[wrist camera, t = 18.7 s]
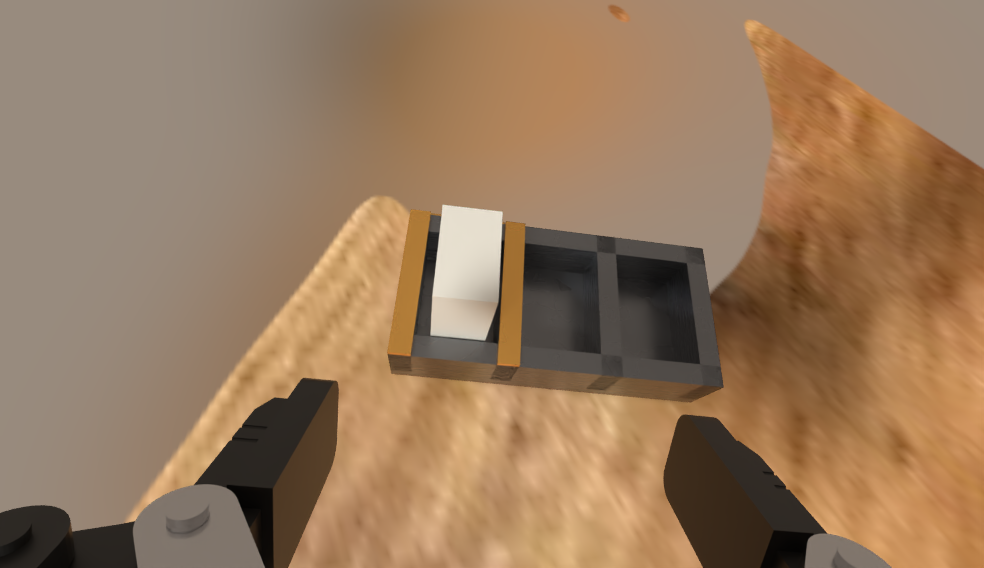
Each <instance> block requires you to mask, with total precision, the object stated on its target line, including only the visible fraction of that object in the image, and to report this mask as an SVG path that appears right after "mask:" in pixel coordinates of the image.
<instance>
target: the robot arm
mask: <svg viewBox="0 0 984 568" xmlns="http://www.w3.org/2000/svg"><path fill="white" fill-rule="evenodd" d="M338 394H339V388H338V382H337V381H332V380H321V379H311V378H303V379H301V381H300V382H299V383H298V385H297V386H296V388H295V389H294V390H293V392H292V393H291V395H290V396H289V397H288V399H284V398H273V399H271V400H270V401H268V402H266V403H265V404H263V405H261V406H260V407H258V408H256V409H255V410H254V411H253V412H252V413H251V415H250V416H249V417H248V418H247V420H246V421H245V422H244V423H243V425H242V428H239V430H238V431H237V432H236V433H235V435H234V436H233V437H232V441H229V442H228V443H227V445H226V446H225V447H224V448H223V450H222V451H221V452H220V453H219V455H218V456H217V457H216V458H215V460H214V461H213V462H212V463H211V465H210V466H209V467H208V468H207V469H206V471H205V472H204V473H203V474H202V476H201V477H200V478H199V479H198V481H197V482H196V483H195V484H194V485H193V486H188V487H184V488H180V489H177V490H174V491H172V492H170V493H167V494H165V495H163V496H161V497H160V498H158V499H156V500H155V501H153V502H152V503H151V504H149V505H148V506H147V507H146V508H145V509H144V510H143V511H142V512H141V513H140V515H139V516H138V517H137V519H136V521H134V522H129V523H124V524H119V525H112V526H106V527H99V528H93V529H87V530H80V531H75V532H72V528H71V522H70V518H69V515H68V514H67V513H66V512H65V511H64V510H62V509H60V508H57V507H53V506H45V505H43V506H42V505H41V506H28V507H21V508H16V509H12V510H9V511H5V512H2V513H0V568H288V567H289V564H290V562H291V560H292V557H293V555H294V553H295V550H296V548H297V546H298V544H299V541H300V539H301V537H302V534H303V532H304V530H305V527H306V525H307V523H308V520H309V518H310V516H311V514H312V511H313V509H314V507H315V504H316V502H317V500H318V497H319V495H320V493H321V491H322V488H323V486H324V484H325V481H326V479H327V477H328V474H329V472H330V470H331V467H332V464H333V460H334V456H335V451H336V444H337V422H338ZM664 489H665V493H666V496H667V499H668V501H669V503H670V505H671V507H672V509H673V510H674V512H675V514H676V516H677V518H678V520H679V522H680V524H681V526H682V528H683V530H684V532H685V534H686V535H687V537H688V539H689V541H690V543H691V545H692V547H693V549H694V551H695V553H696V555H697V557H698V559H699V561H700V562H701V564H702V566H703V568H892V567H891V566H889V565H888V564H887V563H886V562H885V561H884V560H883V559H881V558H880V557H879V556H877V555H876V554H875V553H873V552H872V551H870V550H868V549H867V548H865V547H863V546H862V545H860V544H858V543H856V542H854V541H851V540H849V539H846V538H843V537H840V536H837V535H832V534H827V533H826V531H825V530H824V529H823V528H822V527H821V526H820V525H819V523H818V522H817V521H816V520H815V519H814V518H813V517H812V515H811V514H810V513H809V512H808V511H807V510H806V508H805V507H804V506H803V505H802V504H801V503H800V502H799V500H798V499H797V498H796V497H795V496H794V495H793V494H792V492H791V491H790V490H787V489H786V486H785V484H784V483H783V482H782V481H781V480H780V479H779V478H778V476H775V475H774V472H773V471H772V470H771V468H770V467H769V466H768V465H767V464H766V463H765V462H764V460H763V459H762V458H761V457H760V456H759V455H758V454H756V453H755V452H753V451H752V450H751V449H749V448H748V447H746V446H745V445H744V444H742V443H741V442H739V441H736V440H735V439H734V437H733V436H732V435H731V434H730V433H729V431H728V430H727V429H726V428H725V427H724V425H723V424H722V423H721V422H720V421H719V420H718V419H717V418H714V417H704V416H693V415H682V416H681V417H680V418H679V419H678V422H677V425H676V428H675V432H674V436H673V439H672V443H671V447H670V451H669V454H668V458H667V462H666V465H665V470H664Z"/></svg>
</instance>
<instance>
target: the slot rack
mask: <svg viewBox="0 0 984 568" xmlns="http://www.w3.org/2000/svg"><path fill="white" fill-rule="evenodd" d="M441 216H442V215H441V214H432V213H431V212H428V211H420V210H411V212H410V218H409V224H408V230H407V236H406V242H405V248H404V254H403V260H402V266H401V272H400V278H399V284H398V291H397V297H396V303H395V309H394V315H393V321H392V327H391V333H390V339H389V345H388V351H387V353H388V358H389V363H390V368H391V373H392V374H400V375H410V376H421V377H431V378H442V379H452V380H462V381H473V382H483V383H494V384H504V385H515V386H525V387H535V388H546V389H556V390H567V391H577V392H588V393H598V394H608V395H619V396H629V397H640V398H650V399H661V400H671V401H681V402H692V401H694V400H697V399H699V398H701V397H703V396H705V395H708V394H710V393H712V392H714V391H717V390H719V389H721V388H723V387H724V386H723V380H722V373H721V367H720V360H719V353H718V347H717V340H716V334H715V327H714V320H713V314H712V307H711V301H710V294H709V288H708V281H707V275H706V268H705V261H704V254H703V249H701V248H694V247H686V246H685V247H684V246H677V245H669V244H662V243H654V242H645V241H638V240H630V239H622V238H614V237H605V236H597V235H590V234H582V233H573V232H565V231H557V230H550V229H542V228H534V227H526V226H525V224H524V223H515V222H508V221H506V223H504V222H502V236H501V257H500V278H499V299H498V305H497V308H496V311H495V314H494V317H493V319H492V322H491V325H490V328H489V331H488V334H487V337H486V339H485V342H479V341H469V340H459V339H450V338H440V337H430V334H431V313H432V295H433V286H434V277H435V269H436V260H437V251H438V242H439V234H440V225H441Z"/></svg>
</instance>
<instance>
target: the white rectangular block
mask: <svg viewBox="0 0 984 568" xmlns="http://www.w3.org/2000/svg"><path fill="white" fill-rule="evenodd" d="M502 215H503V212H500V211H491V210H482V209H474V208H465V207H456V206H449V205H443V208H442V216H441V225H440V234H439V242H438V251H437V260H436V269H435V277H434V286H433V295H432V313H431V334H430V337H440V338H450V339H459V340H469V341H479V342H485V339H486V337H487V334H488V331H489V328H490V325H491V322H492V319H493V317H494V314H495V311H496V308H497V305H498V299H499V278H500V257H501V236H502Z"/></svg>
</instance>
